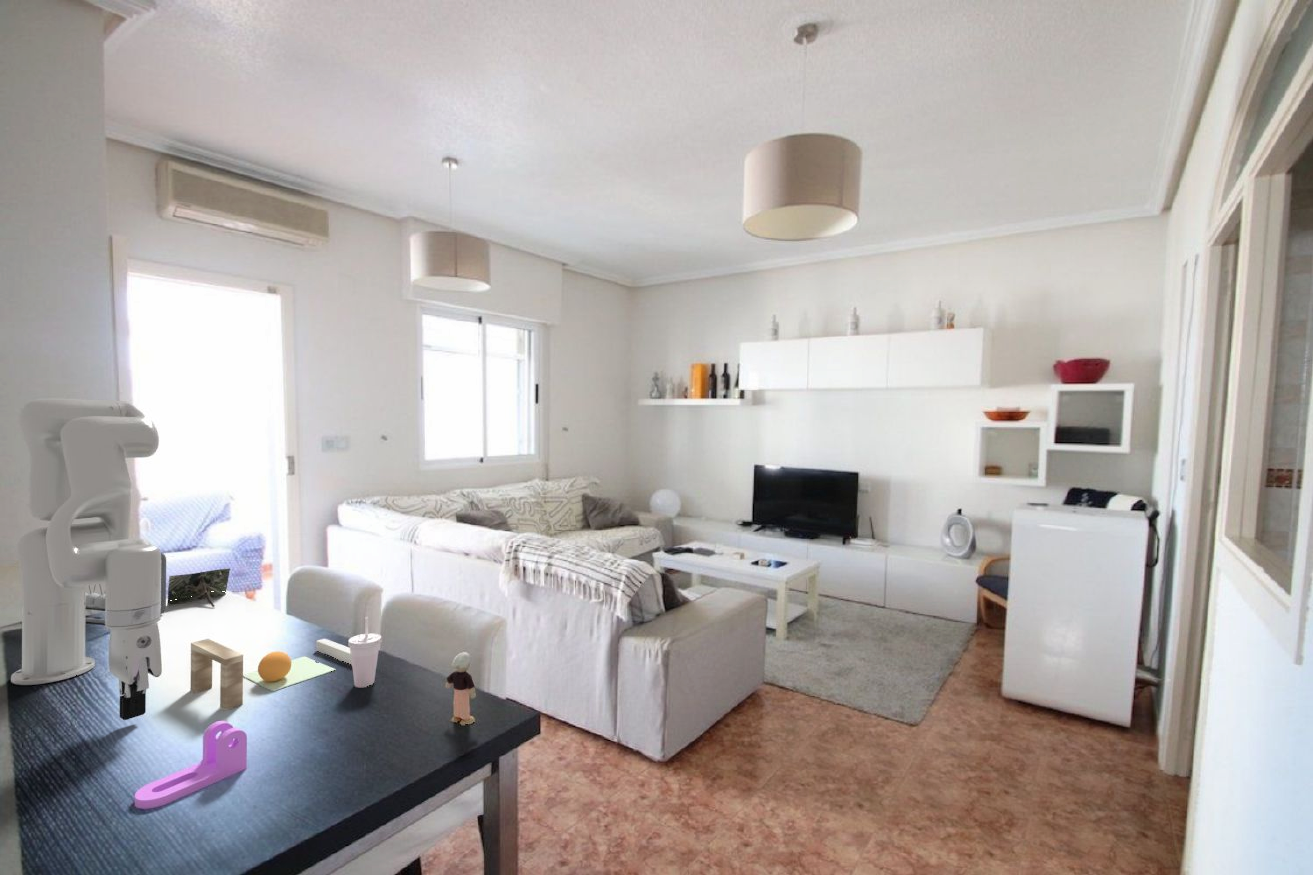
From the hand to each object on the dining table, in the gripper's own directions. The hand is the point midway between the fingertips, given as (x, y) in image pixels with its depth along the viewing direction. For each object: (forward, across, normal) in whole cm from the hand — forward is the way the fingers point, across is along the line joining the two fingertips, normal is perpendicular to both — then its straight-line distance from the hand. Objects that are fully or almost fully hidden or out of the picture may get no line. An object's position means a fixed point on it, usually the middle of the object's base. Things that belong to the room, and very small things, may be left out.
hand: (132, 715), depth 107 cm
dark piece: (-3, +76, -39) cm, 86 cm away
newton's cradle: (+2, +80, -18) cm, 82 cm away
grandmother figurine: (+2, -47, -34) cm, 58 cm away
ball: (-2, -1, -23) cm, 23 cm away
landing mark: (+2, 0, -27) cm, 27 cm away
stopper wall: (+2, 0, -38) cm, 38 cm away
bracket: (+2, -29, +2) cm, 29 cm away
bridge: (+2, 0, -13) cm, 13 cm away
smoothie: (+2, -18, -33) cm, 38 cm away
